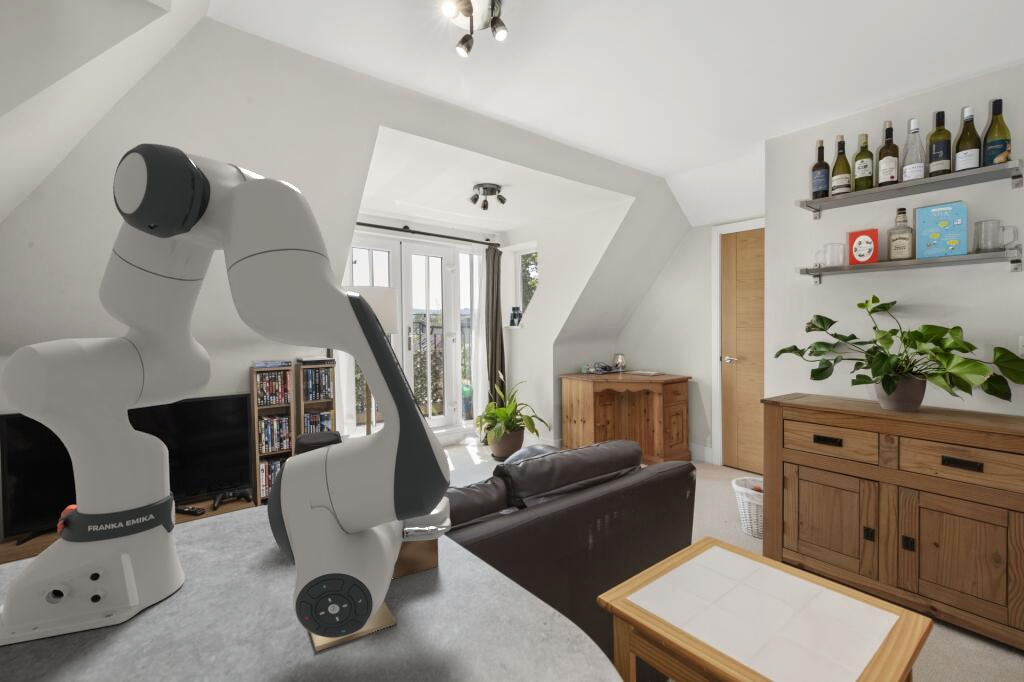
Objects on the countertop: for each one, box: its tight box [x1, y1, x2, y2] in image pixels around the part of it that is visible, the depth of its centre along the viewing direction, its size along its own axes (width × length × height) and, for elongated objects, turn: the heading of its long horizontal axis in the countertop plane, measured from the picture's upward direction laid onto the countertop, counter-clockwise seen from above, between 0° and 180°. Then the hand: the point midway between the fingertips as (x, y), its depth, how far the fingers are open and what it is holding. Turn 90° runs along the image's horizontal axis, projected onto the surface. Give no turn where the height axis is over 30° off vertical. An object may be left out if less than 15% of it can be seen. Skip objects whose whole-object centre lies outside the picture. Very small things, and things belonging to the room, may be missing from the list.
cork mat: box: [309, 599, 397, 652], centre depth 66 cm, size 10×10×1 cm
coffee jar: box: [293, 430, 343, 456], centre depth 101 cm, size 10×8×19 cm
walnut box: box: [392, 538, 439, 579], centre depth 82 cm, size 12×10×9 cm
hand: (384, 498), depth 75 cm, fingers open, 8 cm apart
